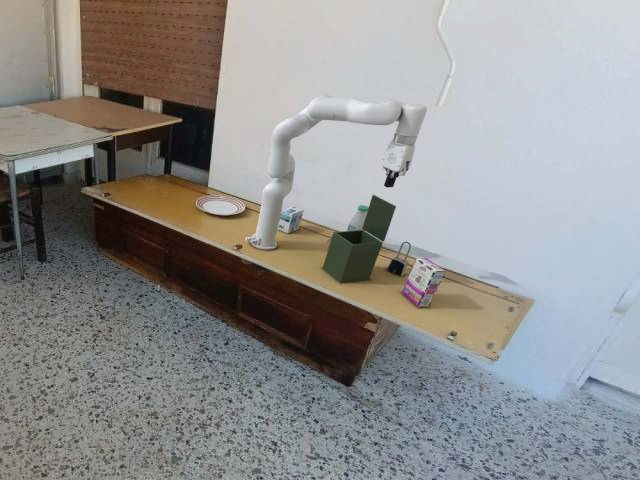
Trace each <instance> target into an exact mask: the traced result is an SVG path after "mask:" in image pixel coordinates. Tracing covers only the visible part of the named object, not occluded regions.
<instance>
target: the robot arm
mask: <svg viewBox="0 0 640 480" xmlns="http://www.w3.org/2000/svg"><path fill="white" fill-rule="evenodd" d="M427 111H428V107H427V106H426V105H424V104H420V103H407V102H404V101H399V100H396V99H395V100H388V101H386V102H385V103H379V102H378V103H377V102H376V103H375V102H374V103H373V102H365V101H360V100H359V99H356V98H354V97H333V96H331V95H328V94H323V95H319V96H316V97H315V98H313V99H312V100H311V101H310V102H309V103H308V106H306V107H305V108H303V109H302V110H301V111H299V112H298V113H296V114H295V115H294V116H290V117H289V118H287V119H285V120H282V121H280V123H278V124H277V125H276V126H275V127H274V129H273V130H272V133H271V135H270V146H269V153H268V161H267V162H268V163H267V174H268V175H269V177H270V178H272V180H271V181H269V182H268V183H267V184H266V185H265V186H264V188H263V190H262V194H261V205H260V209H259V215H258V219H257V225H256V229H255V233H253V234H252V236H245V239H244V240H245V242H250V245H252V247H255V248H256V249H259V250H263V251H270V250H271V251H272V250H275V249H276V248H277V247H278V242H277V241H276V238H277V234H278V225H279V221H280V216H281V212H282V210H283V202H284V199H285V198H286V197H287V196H288V195H289V194H290V193H291V191H292V190H293V185H294V179H295V170H296V161H295V157H294V156H293V155H292V154H290V153H291V141H292V140H293V139H296V138H297V137H300V136H303V134H305V133H307V132H309V130H311V129H312V128H313V127H315V126H316V125H318V124H319V123H320V122H322V121H334V122H335V121H336V122H337V121H338V122H348V123H351V124H353V123H354V124H360V125H371V126H389V125H393V124H394V123H395V122H398V124H397V126H396V130H395V133H394V134H393V138H392V140H391V141H390V142H389V143H388V145H387V148H386V150H385V151H384V154H383V157H382V160H381V164H380V165H381V166H382V169H384V170H385V172H386V173H385V176H386V177H385V181H384V183H383V187H385V188H386V189H387V188H394V186H395V183H396V181H397V178H399V177H405V176H406V173H407V172H408V171H409V169H410V167H411V165H412V163H413V162H412V161H413V158H414V154H415V149H416V142H417V140H418V136H419V134H420V131H421V128H422V125H423V123H424V120H425V117H426V114H427Z"/></svg>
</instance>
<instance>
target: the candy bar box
mask: <svg viewBox="0 0 640 480" xmlns="http://www.w3.org/2000/svg"><path fill="white" fill-rule="evenodd" d="M445 274H446V270H445V269H443V268H442V267H440V266H439V265H437V264H436V263H435V262H433V261H432V260H430V259H429V258H427V257H417V258H416V259H415V261H414V264H413V265H412V268H411V271H410V273H409V275H408V277H407V279H406V282H405V284H404V287H403V289H402V291H401V294H402V295H404V296H405V297H406V298H407V299H408V300H409V301H410V302H412V304H414V305H415V306H416V307H417V308H429V307H430V305H431V303H432V301H433V299H434V297H435V295H436V293H437V291H438V289H439V286H440V284H441V282H442V280H443V278H444V276H445Z"/></svg>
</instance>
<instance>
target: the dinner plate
mask: <svg viewBox="0 0 640 480" xmlns="http://www.w3.org/2000/svg"><path fill="white" fill-rule="evenodd" d="M195 205H196V207H197V208H198V209H200V210H201V211H203V212H206V213H208V214H210V215H211V214H212V215H214V216H223V217H227V216H235V215H238V214H241V213H243V212H244V211H245V210H246V204H244V203H243V202H242V200H239V199H237V198H234V197H231V196H225V195H217V194H216V195H215V194H214V195H205V196H202V197H199V198H198V199H197V200H196V201H195Z"/></svg>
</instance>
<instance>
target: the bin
mask: <svg viewBox="0 0 640 480" xmlns="http://www.w3.org/2000/svg"><path fill="white" fill-rule="evenodd" d="M383 245H384V241H383V242H382V241H381V240H379V239H378V238H376V237H374V236H373V235H371V234H370V233H368V232H366V231H364V230H354V231H347V230H343V231H333V233H332V235H331V239H330V242H329V246H328V249H327V253H326V255H325V259H324V262H323V265H322V270H324V271H325V272H326V273H327V274H329V275H330V276H331V277H332V278H334V279H335V280H336V281H337V282H338V283H340V284H341V283H349V282H358V281H367V280H368V281H369V280H370V278H371V275H372V273H373V270H374V267H375V264H376V263H377V260H378V257H379V254H380V252H381V249H382V246H383Z"/></svg>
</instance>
